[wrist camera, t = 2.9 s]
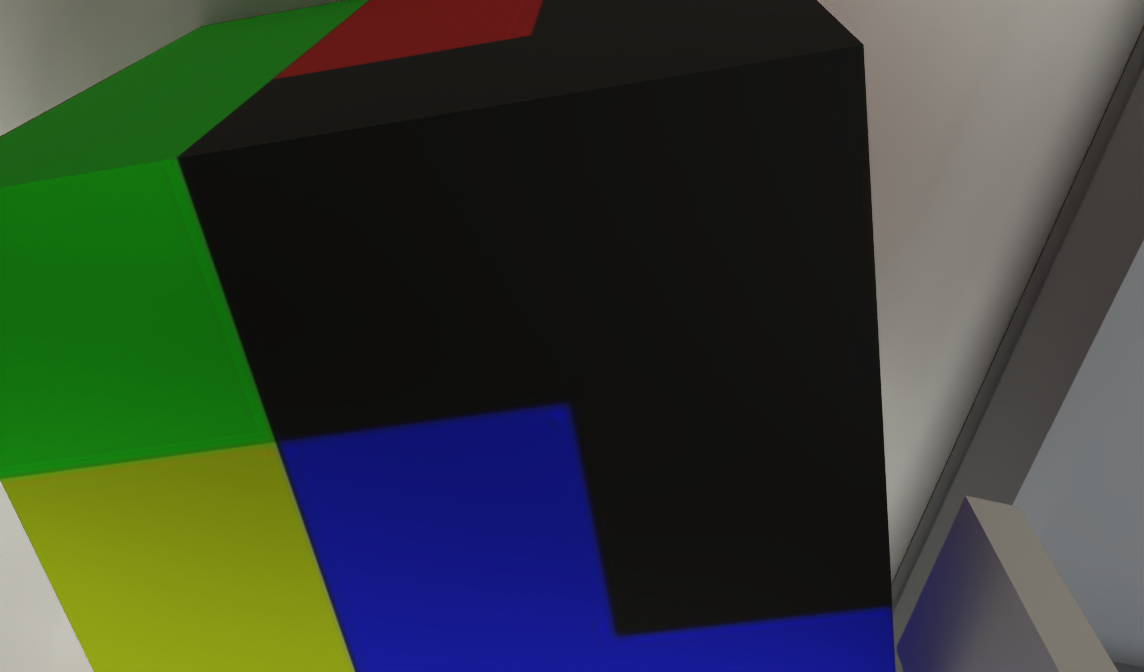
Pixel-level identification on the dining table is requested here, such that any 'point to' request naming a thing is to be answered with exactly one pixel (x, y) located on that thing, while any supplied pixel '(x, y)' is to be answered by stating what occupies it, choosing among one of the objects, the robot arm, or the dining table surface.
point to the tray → (1069, 399)
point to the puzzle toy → (456, 344)
